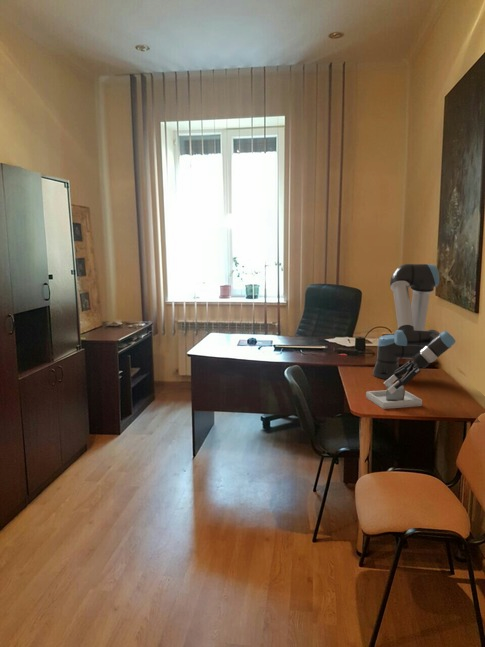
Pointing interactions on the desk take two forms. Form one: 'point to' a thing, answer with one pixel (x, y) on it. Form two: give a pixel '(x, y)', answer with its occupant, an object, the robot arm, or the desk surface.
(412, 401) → the tray
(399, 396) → the ceramic mug
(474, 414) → the desk surface
